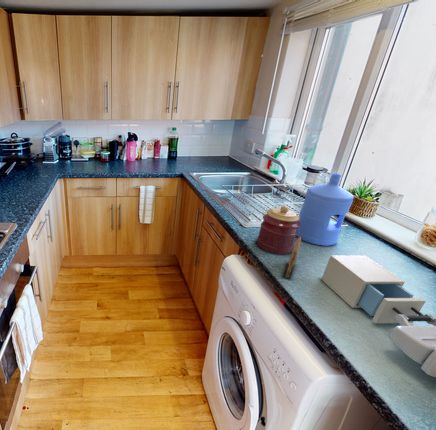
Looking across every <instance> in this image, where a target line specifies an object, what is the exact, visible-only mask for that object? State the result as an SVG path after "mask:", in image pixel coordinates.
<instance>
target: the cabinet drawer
mask: <svg viewBox="0 0 436 430" xmlns="http://www.w3.org/2000/svg"><path fill="white" fill-rule="evenodd" d="M426 301H427V300H425V299H424V298H422V297H414V294H413V293H412V292H410V291H409V290H407V289H406V288H404V287H403V286H402V287H401V286H400V285H398V284H366V286H365V288H364V290H363V293H362V295H361V297H360V299H359V301H358V303H357V304H358V305H359V306H360V307H362V308H361V309H363V310H364V311H365V312H366V313H367V314H368V315H369V316H372V317H373V318H372V322H373V323H375V324H400V323H399V322H398V321H397V320H395V316H396V315H397V314H404V315H405V316H406V317H408V318H409V320H408V323H409V324H413V323H414V322H426V321H430V320H431V319H430V317H429V316H426V315H425V314H423V313H422V312H421V310H422V309H423V307H424V305H425V304H426ZM424 315H425V316H424Z"/></svg>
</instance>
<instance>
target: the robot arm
mask: <svg viewBox="0 0 436 430" xmlns="http://www.w3.org/2000/svg"><path fill="white" fill-rule="evenodd" d="M423 315H424V316H425V315H426V316H429V317H430V319H431V320H430V321H425V322H426V324H428V325H414V324H413V323H408V320H409V318H408V317H406V316H405V315H404V314H397V315H396V316H395V320H397V321H398V322H399V323H398V324H399V325H395V327H393V329H392V331H391V332H390V334H389V336H390V340H391V341H392V342H393V343H394V344H395V346H397V347H398V348H399V349H400V350H401V351H402V352H403V353H404V354H405V355H406V356H407V357H409V358H410V359H411V360H412V361H414V362H416V363H418V364H420V365H421V367H420V368H421V370H422V371H423V372H424V373H425V374H427V375H428V376H430V377H434V378H436V316H435V315H433V314H432V313H431V314H430V313H429V314H423Z"/></svg>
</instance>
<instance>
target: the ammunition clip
mask: <svg viewBox="0 0 436 430" xmlns="http://www.w3.org/2000/svg"><path fill="white" fill-rule="evenodd" d="M301 242H302V239H301V236H300V237H297V239H296V242H295V243H294V245H293V249H292V251H291V252H290V253H291V254H290V256H289V260H288V262H287V265H286V269H285V271H284V274H283V278H285V279H288V280H290V279H291V278H292V274H293V271H294V268H295V265H296V261H297V258H298V256H299V250H300V248H301V247H300V246H301Z"/></svg>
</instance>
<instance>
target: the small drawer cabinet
mask: <svg viewBox="0 0 436 430" xmlns="http://www.w3.org/2000/svg"><path fill="white" fill-rule="evenodd" d="M321 281H322V282H324V283H325V284H326V285H327V286H328V287H329V288H330V289H331V290H332V291H333V292H335V294H337V295H338V296H339V297H340V298H341V299H342V300H343V301H344V302H345V303H347V304H348V305H349V306H350V307H351V308H352V309H363V308H362V307H360V306H359V305H358V304H357V303H358V301H359V299H360V297H361V295H362V293H363V290H364V288H365V286H366V284H398V285H400V286H401V287H403V286H404V284H405V281H404V280H403V279H402V278H400V277H399V276H397V275H395V274H394V273H392V272H391V271H390V270H388V269H387V268H385V267H384V266H382V265H381V264H379V263H377V262H376V261H375V260H373V259H372V258H370V257H369V256H367V255H356V254H355V255H354V254H353V255H349V254H348V255H347V254H346V255H341V254H340V255H339V254H338V255H337V254H335V255H333V254H331V255H330V256H329V258H328V261H327V264H326V266H325V269H324V271H323V274H322V277H321Z"/></svg>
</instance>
